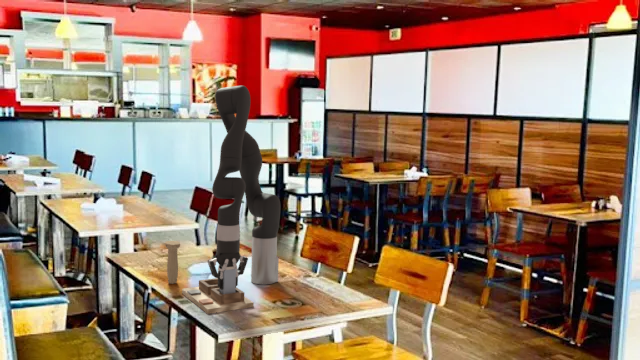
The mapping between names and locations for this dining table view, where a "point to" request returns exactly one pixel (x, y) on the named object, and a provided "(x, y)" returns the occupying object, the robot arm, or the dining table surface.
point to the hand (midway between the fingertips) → (227, 288)
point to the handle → (172, 261)
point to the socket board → (216, 297)
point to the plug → (229, 281)
